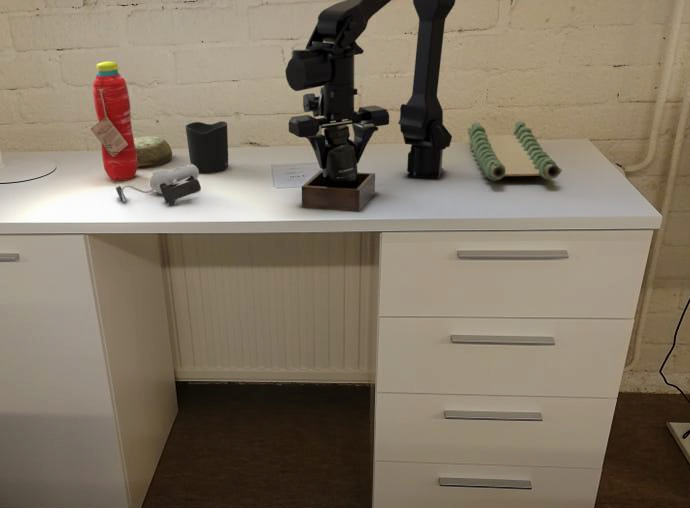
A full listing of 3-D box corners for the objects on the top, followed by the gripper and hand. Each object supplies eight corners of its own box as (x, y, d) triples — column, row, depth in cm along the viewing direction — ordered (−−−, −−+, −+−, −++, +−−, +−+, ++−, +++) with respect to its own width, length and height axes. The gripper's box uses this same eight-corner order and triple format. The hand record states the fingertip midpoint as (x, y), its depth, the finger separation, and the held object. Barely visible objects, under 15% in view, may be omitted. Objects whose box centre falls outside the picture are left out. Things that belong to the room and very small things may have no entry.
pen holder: (206, 177, 175) (202, 131, 170) (181, 169, 181) (177, 126, 176) (238, 167, 180) (235, 123, 175) (213, 161, 186) (209, 118, 181)
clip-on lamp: (120, 223, 159) (203, 198, 157) (108, 195, 155) (194, 169, 154) (123, 200, 169) (202, 176, 167) (113, 173, 165) (193, 149, 163)
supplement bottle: (347, 195, 150) (341, 134, 144) (318, 193, 154) (310, 132, 148) (365, 183, 154) (360, 123, 148) (336, 181, 158) (330, 122, 152)
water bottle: (125, 187, 171) (109, 67, 159) (92, 186, 173) (73, 68, 161) (146, 172, 181) (132, 58, 169) (115, 171, 183) (99, 59, 171)
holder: (374, 193, 157) (375, 173, 155) (359, 211, 148) (359, 190, 146) (320, 189, 162) (320, 170, 160) (301, 207, 152) (301, 186, 150)
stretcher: (561, 190, 152) (565, 165, 150) (486, 191, 154) (488, 167, 152) (526, 140, 187) (529, 119, 185) (465, 141, 189) (467, 120, 187)
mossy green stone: (105, 165, 188) (102, 144, 186) (142, 152, 198) (139, 132, 195) (148, 171, 181) (145, 150, 179) (183, 157, 191) (181, 136, 188)
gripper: (364, 70, 153) (363, 150, 161) (276, 82, 148) (279, 163, 156) (391, 79, 144) (389, 162, 152) (298, 91, 139) (301, 177, 147)
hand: (339, 165), depth 152 cm, fingers closed on supplement bottle, 7 cm apart
